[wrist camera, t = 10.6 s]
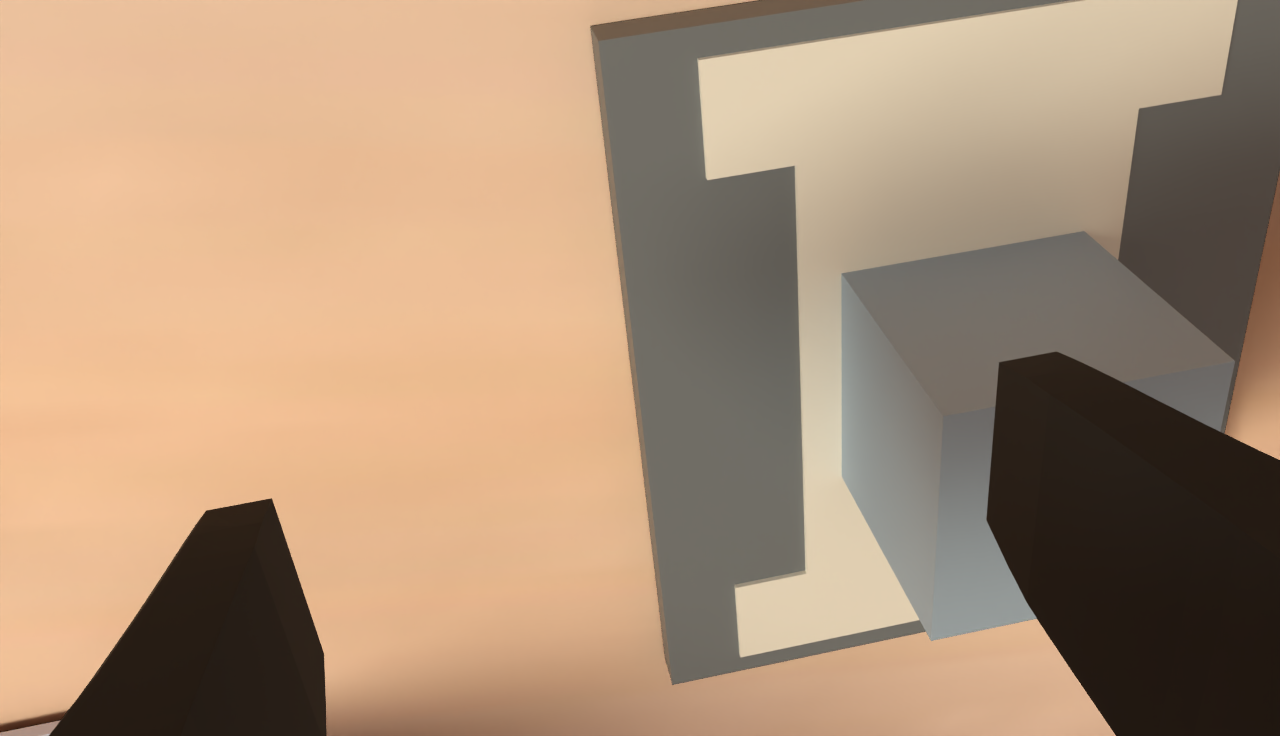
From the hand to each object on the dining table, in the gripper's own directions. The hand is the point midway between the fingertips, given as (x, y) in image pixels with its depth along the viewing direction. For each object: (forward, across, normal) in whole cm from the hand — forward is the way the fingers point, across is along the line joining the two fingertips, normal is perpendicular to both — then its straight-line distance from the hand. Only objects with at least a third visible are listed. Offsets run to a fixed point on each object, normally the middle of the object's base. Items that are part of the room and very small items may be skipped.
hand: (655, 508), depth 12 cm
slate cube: (+8, -7, +5) cm, 12 cm away
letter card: (+9, -7, +5) cm, 13 cm away
